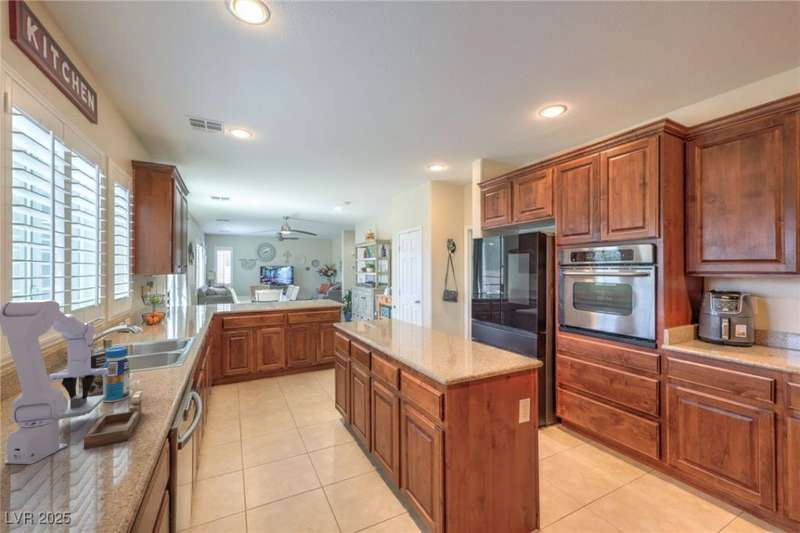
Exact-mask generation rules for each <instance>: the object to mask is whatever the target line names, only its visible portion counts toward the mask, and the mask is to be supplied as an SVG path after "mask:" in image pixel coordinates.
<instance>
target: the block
mask: <svg viewBox="0 0 800 533" xmlns="http://www.w3.org/2000/svg"><path fill="white" fill-rule="evenodd" d="M142 399H143V390H140V391H136V392H135V393H134V394H133V395H132V396H131V405H132V404H138V403H139V402H140V400H142Z"/></svg>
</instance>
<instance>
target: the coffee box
mask: <svg viewBox="0 0 800 533" xmlns="http://www.w3.org/2000/svg"><path fill="white" fill-rule="evenodd" d="M105 352H106V350H101V351H96V352H91V369H100V368H103V366H104V364H105V362H106V361H107V360H108V359H106V357H105ZM83 378H85V377H79V378H78V392H77V394H79V393H83V386H82V381H81V380H82V379H83ZM101 392H102V393H103V376H102V375H96V377H95V379H94V380H93V382H92V384H91V387H90V389H89V392H88V396H94V395H95V394H99V393H101Z"/></svg>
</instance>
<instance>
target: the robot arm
mask: <svg viewBox="0 0 800 533" xmlns="http://www.w3.org/2000/svg"><path fill="white" fill-rule="evenodd" d="M60 309H61V308H60V303H59V302H57V301H56V300H54V299H47V300H19V301H17V300H8V301H6V302H5V303H4V304H3V305H2V306H1V307H0V328H1V332H2V335H3V336H5V337H6V338H7V343H8V346H9V349H10V353H11V357H12V360H13V364H14V367H15V372H16V374H17V378H18V383H19V386H20V389H21V392H22V393H20V394H19V395H18V396H16V397H15V398H14V400H13V401H12V403H11V404H10V405H11V414H10V417H11V420H12V422H13V423H15V424H17V427H18V428H19V429H17V430H16V431H14V432H12V433H11V434H10V435H9V436H8V438H7V442H6V443H7V449H6V450H7V451H6V452H7V454H6V455H7V457H6V460H5V461H4V463H5V464H20V465H32V464H34V463H36V462H38V461H40V460H42V459H44V458H46V457H48V456H50V455H53V454H54V453H56V452H58V451H60V450H62V449H64V448H66V447H68V445H69V444H68V443H60V442H59V441H60V419H59V418H61V417H62V416H63V415H64V414H65V412H66V410H67V407H68V400H70V399H72V398H73V397H74V396H75V395H77V382H78V379H79V377H85V378H83V379H82V380H81V381H82V386H83V395H82V396H83V399H86V398H87V397H89V395H88V392H89V389H90V387H91V384H92V382H93V380H94V379H95V377H96V375H106V374H108V368H100V369H91V353H92V344H93V342H94V336H95V332H96V329H95V325H94V324H93V323H90V322H83V321H82V320H81V319H79V318H77V317H76V316H75V315H74V314H73V313H67V314H64V313H63V311H61V310H60ZM52 328H53V330H54V331H56V332H58V333H60V334H61V336H62V338H63V340H64V341H65V342H67V371H64V372H58V373H51V374H49V375H48V372H47V368H46V365H45V364H46V363H45V360H44V357H43V353H42V348H41V345H40V344H41V343H40V340H39V337H40V336H42V335H45V334H47V333H48V332H49V331H50V329H52ZM61 380H62V381H61ZM53 381H61V386H63V387H64V388H65V390H66V392H67V394H68V395H69V399H68V398H67V397H66V396H65V394H64V393H63V392H64V391H63V390H62V389H60V388H57V387H56V386H55V387H54V386H52V385H51V383H50V382H53Z"/></svg>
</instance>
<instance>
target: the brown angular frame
mask: <svg viewBox="0 0 800 533" xmlns="http://www.w3.org/2000/svg"><path fill="white" fill-rule="evenodd" d="M142 403H143V400H142V399H141V400H140V402H139V403H138V404H132V403H131V405H130V407H129V411H122V412H117V413H116V412H115V413H110V414H102V415H101V416H100V417H99V419H98V420H97V421H96V423H95V424H94V425H93V426H92V427H91V429H90V430H89V431H88V432H87V433H86V434H85V436H84V437H83V450H87V449H92V448H98V447H99V448H100V447H104V446H109V445H114V444H118V443H125V442H128V441H129V439H130V437H131V435H132V434H133V433H134V431H135V429H136V428H137V425H138V424H139V422H140V421H141V415H142V412H143V411H142V410H143V409H142V408H143V404H142Z"/></svg>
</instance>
